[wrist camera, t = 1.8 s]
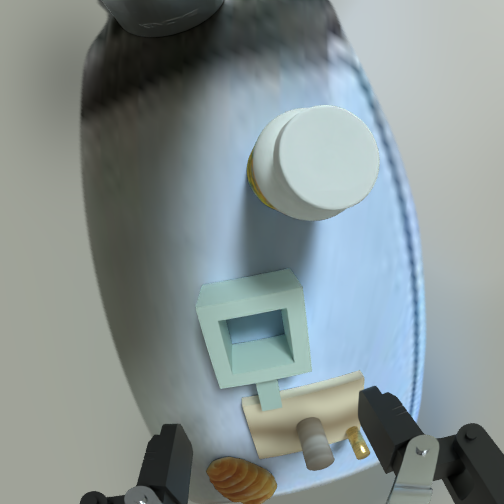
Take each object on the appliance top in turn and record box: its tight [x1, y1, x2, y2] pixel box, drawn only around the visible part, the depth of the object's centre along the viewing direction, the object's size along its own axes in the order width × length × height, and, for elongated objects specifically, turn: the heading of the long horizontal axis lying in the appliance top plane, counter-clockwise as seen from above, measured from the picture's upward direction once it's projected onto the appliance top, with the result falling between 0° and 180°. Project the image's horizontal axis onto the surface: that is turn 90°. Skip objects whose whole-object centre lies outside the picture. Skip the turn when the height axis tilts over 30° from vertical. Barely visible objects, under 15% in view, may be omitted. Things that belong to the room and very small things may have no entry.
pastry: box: [206, 457, 277, 504], centre depth 24 cm, size 9×7×4 cm
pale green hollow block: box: [195, 268, 312, 411], centre depth 19 cm, size 10×6×4 cm, turn 10°
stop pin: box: [346, 426, 370, 460], centre depth 22 cm, size 1×1×4 cm
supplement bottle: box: [247, 105, 379, 221], centre depth 14 cm, size 5×5×10 cm
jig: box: [242, 370, 364, 471], centre depth 21 cm, size 9×11×6 cm
